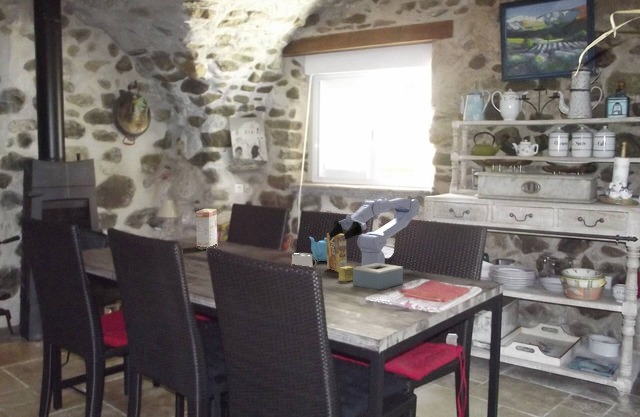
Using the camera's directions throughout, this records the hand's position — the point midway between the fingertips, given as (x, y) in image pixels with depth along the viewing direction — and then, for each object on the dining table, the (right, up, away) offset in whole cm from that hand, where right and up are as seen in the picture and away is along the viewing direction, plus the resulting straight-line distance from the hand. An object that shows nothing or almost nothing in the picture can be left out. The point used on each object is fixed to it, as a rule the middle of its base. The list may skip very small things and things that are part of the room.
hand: (337, 236), depth 231 cm
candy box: (0, -15, +23) cm, 28 cm away
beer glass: (-13, -20, -27) cm, 36 cm away
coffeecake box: (-64, -10, +83) cm, 105 cm away
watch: (-11, -18, -3) cm, 21 cm away
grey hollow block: (+15, -18, -5) cm, 24 cm away
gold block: (+3, -17, +3) cm, 18 cm away
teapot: (-4, -13, +46) cm, 48 cm away
